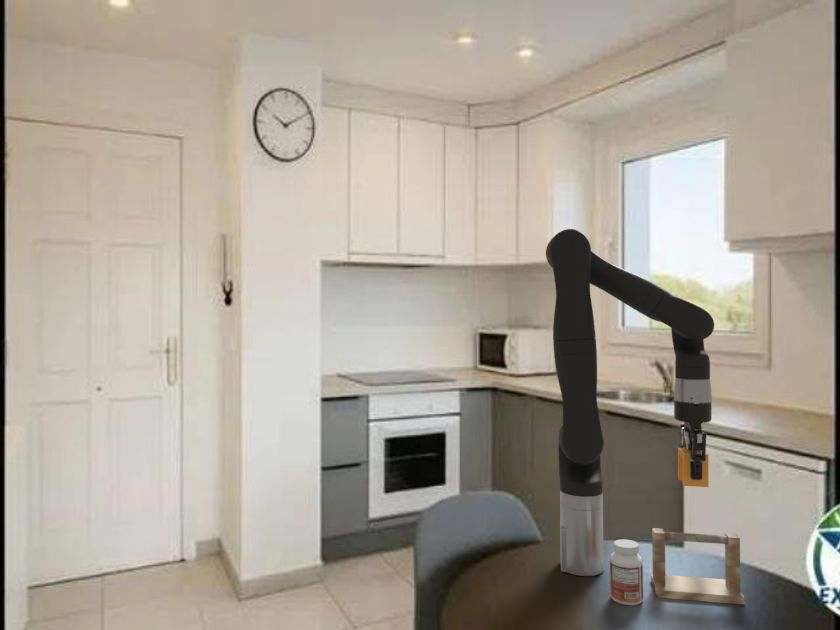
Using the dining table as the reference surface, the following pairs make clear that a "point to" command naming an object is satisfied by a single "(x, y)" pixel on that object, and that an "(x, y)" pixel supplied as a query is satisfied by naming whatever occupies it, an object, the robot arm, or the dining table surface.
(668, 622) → the dining table surface
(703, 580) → the rack
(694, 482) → the notched orange block
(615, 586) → the pill bottle
